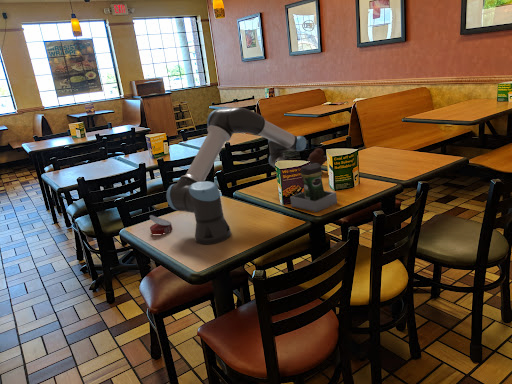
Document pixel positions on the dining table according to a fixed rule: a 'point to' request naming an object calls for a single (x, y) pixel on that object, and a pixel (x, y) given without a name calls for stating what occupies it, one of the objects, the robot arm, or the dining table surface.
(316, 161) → the ice cream bowl
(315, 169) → the coffee jar
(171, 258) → the dining table surface
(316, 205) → the open box
